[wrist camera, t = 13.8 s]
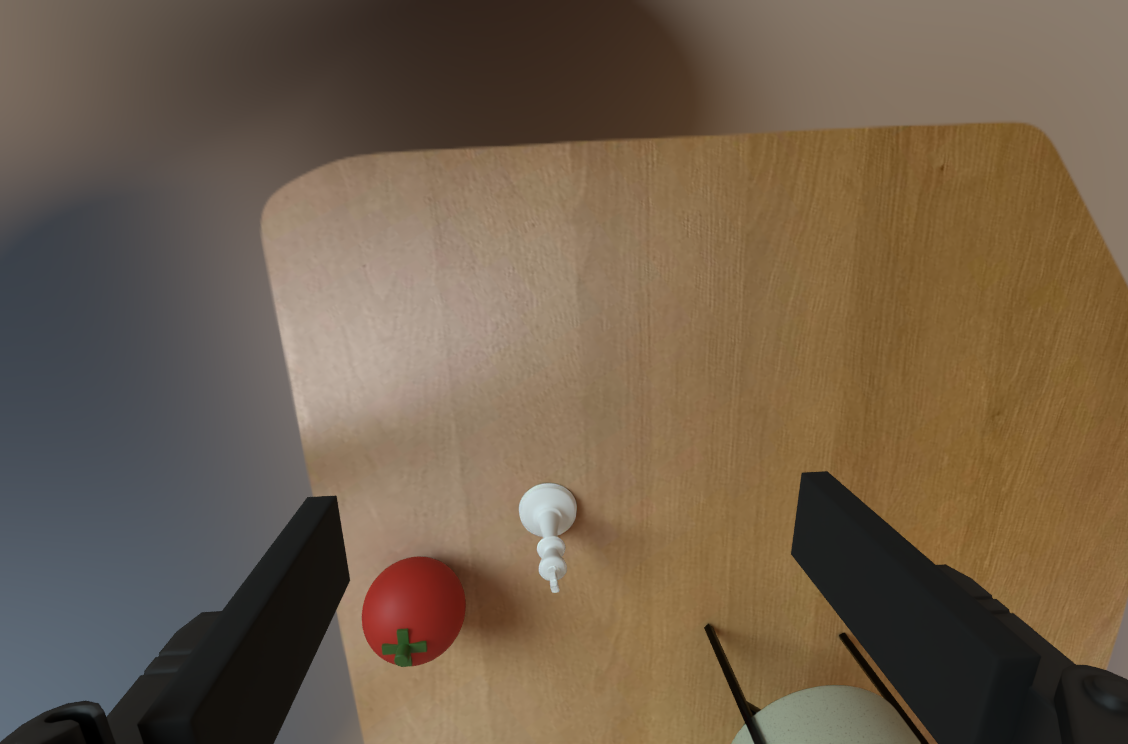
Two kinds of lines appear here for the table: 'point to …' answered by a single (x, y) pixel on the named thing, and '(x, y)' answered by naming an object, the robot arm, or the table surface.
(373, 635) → the tomato
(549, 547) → the chess piece
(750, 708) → the planter
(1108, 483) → the table surface
